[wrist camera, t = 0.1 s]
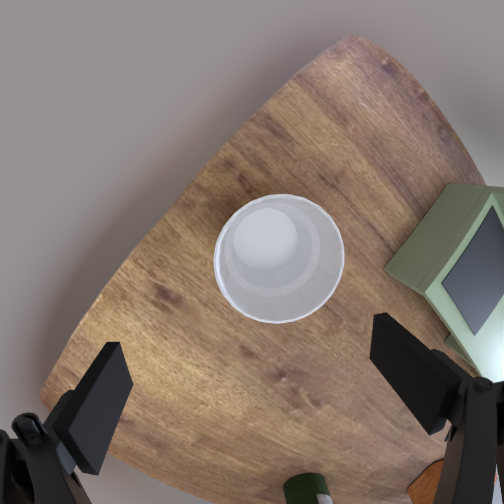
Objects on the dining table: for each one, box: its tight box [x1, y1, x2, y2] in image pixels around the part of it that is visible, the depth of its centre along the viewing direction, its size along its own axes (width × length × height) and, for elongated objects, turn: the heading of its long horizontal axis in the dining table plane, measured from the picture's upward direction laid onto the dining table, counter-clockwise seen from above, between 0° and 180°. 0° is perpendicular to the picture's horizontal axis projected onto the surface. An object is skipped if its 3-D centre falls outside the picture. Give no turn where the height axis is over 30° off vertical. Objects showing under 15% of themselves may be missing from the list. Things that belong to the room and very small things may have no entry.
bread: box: [407, 460, 497, 504], centre depth 42 cm, size 14×27×15 cm, turn 72°
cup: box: [213, 194, 344, 324], centre depth 27 cm, size 10×10×10 cm
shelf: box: [383, 183, 504, 383], centre depth 32 cm, size 39×15×11 cm, turn 48°
